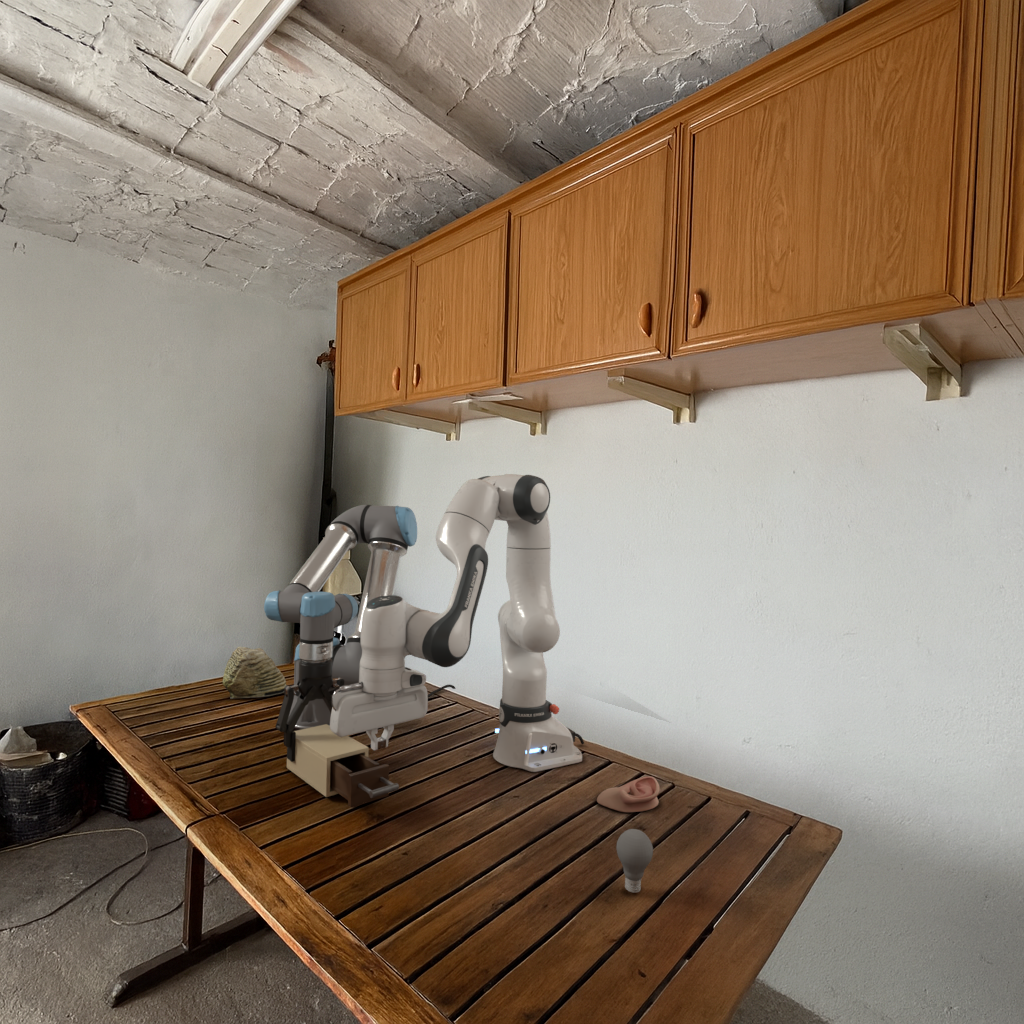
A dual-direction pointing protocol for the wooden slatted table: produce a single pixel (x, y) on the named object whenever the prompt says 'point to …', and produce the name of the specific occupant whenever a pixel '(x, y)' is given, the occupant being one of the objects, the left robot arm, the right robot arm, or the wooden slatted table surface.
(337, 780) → the drawer
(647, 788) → the anatomical model
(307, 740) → the cabinet
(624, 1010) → the wooden slatted table surface
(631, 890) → the light bulb
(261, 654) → the fossil
